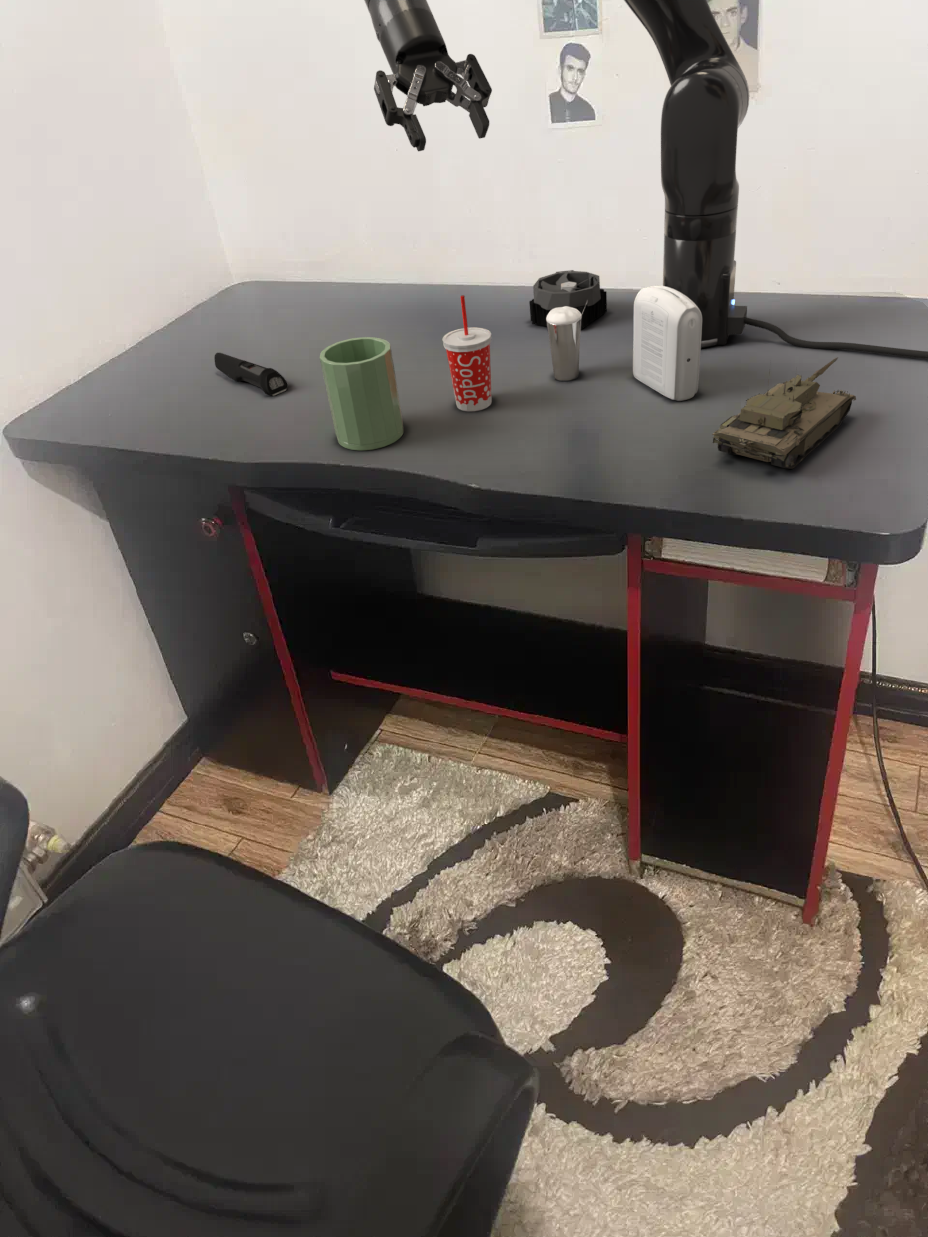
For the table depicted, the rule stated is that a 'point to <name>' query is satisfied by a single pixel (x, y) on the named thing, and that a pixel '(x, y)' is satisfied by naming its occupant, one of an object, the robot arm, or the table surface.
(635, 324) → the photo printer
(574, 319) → the milkshake
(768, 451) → the tank
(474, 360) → the beverage cup
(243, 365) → the electric trimmer
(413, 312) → the table surface
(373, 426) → the pen pot
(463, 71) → the robot arm
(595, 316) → the cpu cooler
